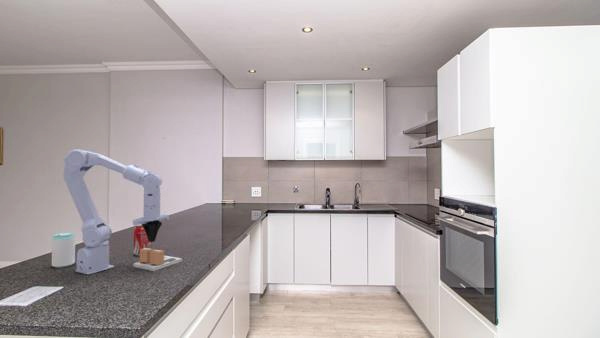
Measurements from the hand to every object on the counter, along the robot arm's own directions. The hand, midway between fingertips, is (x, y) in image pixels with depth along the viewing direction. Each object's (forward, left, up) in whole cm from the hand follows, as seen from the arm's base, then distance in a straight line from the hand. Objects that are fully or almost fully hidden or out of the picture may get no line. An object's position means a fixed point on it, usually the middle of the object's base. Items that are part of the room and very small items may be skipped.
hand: (151, 241), depth 117 cm
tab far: (0, +2, -8) cm, 8 cm away
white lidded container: (-14, +31, -10) cm, 35 cm away
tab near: (0, -3, -8) cm, 8 cm away
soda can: (+10, +18, -10) cm, 22 cm away
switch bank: (+3, 0, -9) cm, 10 cm away
